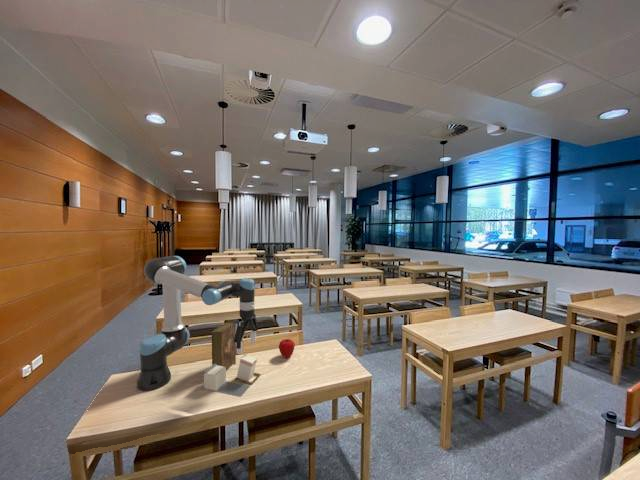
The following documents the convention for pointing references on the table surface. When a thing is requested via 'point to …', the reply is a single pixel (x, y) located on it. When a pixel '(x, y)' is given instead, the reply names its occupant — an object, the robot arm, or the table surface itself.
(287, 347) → the apple
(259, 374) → the tray
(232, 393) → the board
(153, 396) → the table surface
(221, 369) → the pad
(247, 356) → the stub
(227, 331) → the book
